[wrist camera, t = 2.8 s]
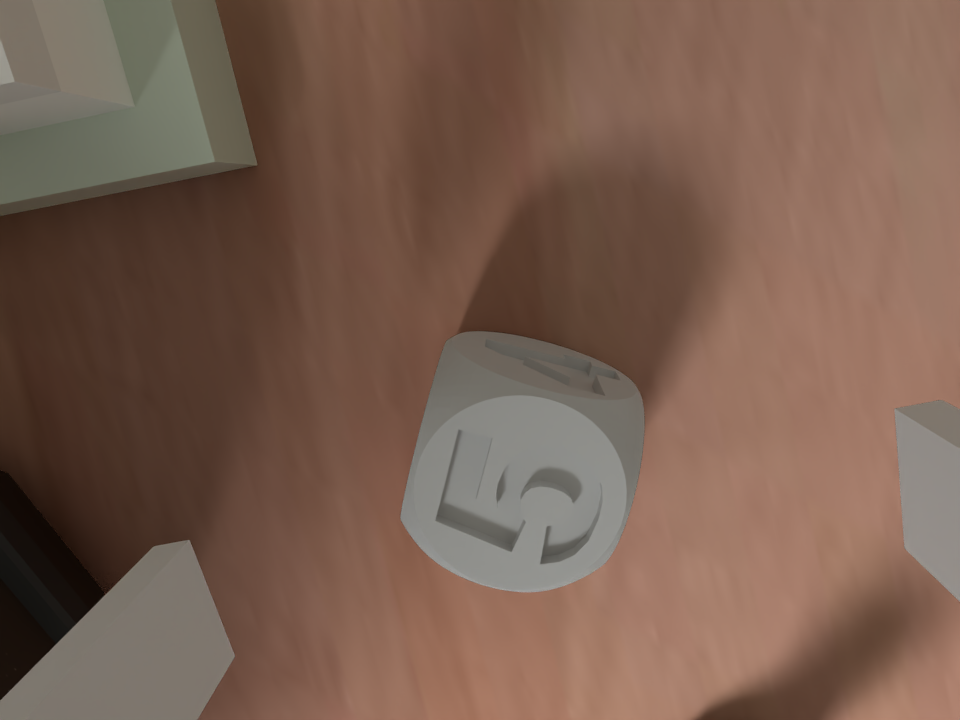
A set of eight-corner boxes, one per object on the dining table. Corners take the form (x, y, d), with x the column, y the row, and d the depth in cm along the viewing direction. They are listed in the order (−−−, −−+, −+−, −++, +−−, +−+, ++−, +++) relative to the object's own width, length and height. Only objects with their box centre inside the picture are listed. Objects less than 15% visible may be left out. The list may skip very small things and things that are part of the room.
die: (455, 318, 18) (434, 363, 14) (624, 360, 18) (663, 421, 14) (418, 473, 20) (387, 565, 15) (575, 512, 20) (595, 617, 15)
